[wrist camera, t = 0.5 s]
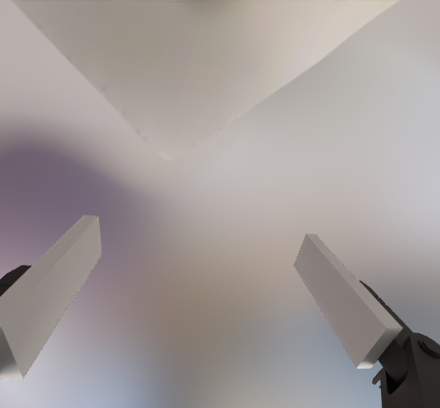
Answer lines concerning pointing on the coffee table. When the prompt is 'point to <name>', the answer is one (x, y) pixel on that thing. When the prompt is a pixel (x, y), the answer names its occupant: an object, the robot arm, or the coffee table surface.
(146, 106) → the coffee table surface
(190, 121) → the coffee table surface
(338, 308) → the robot arm
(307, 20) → the coffee table surface
